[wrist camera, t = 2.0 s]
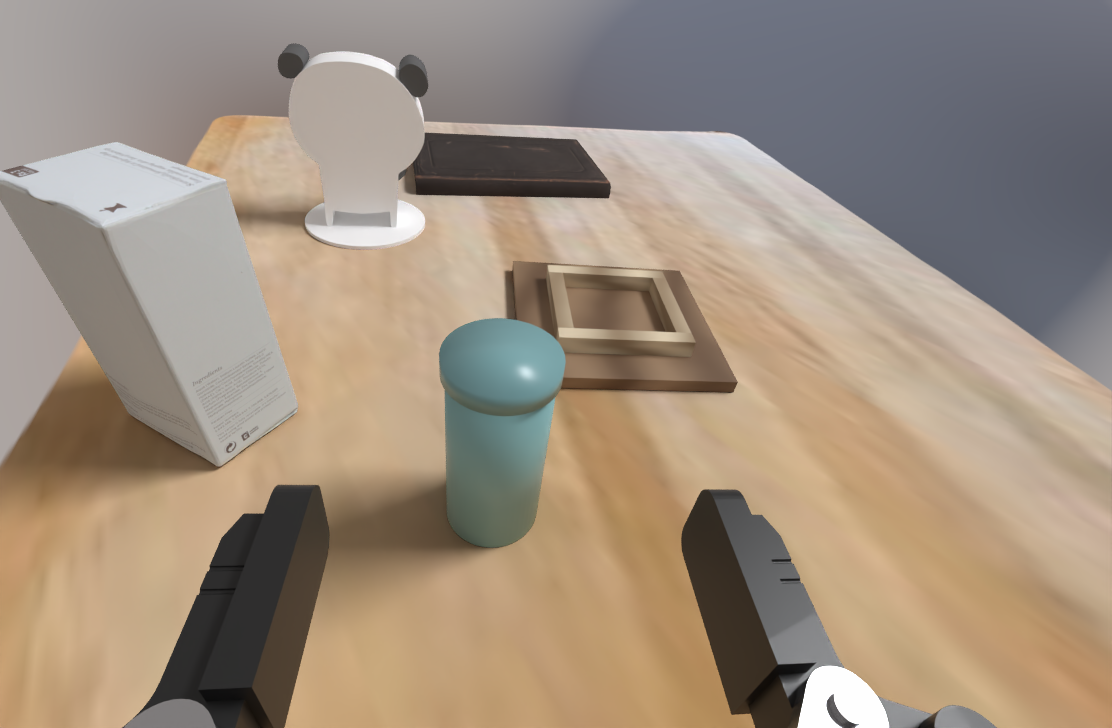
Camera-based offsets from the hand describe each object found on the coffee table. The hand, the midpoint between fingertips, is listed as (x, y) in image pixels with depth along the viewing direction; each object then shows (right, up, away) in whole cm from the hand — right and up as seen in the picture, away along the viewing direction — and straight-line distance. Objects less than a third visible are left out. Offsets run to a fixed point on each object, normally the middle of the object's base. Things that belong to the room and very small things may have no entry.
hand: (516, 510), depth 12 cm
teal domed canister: (-3, -5, +19) cm, 19 cm away
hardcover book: (-6, +27, +58) cm, 65 cm away
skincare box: (-20, 0, +22) cm, 30 cm away
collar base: (+5, +6, +34) cm, 35 cm away
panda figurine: (-18, +17, +43) cm, 49 cm away
